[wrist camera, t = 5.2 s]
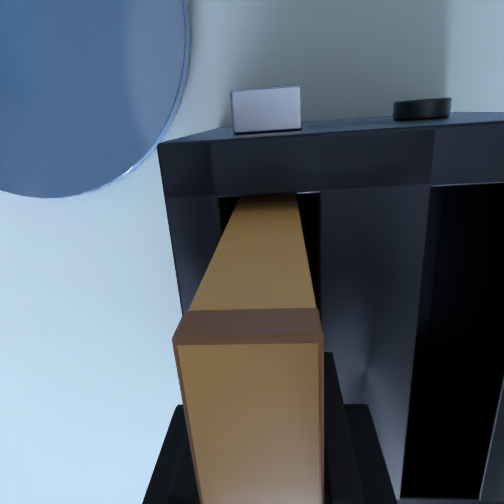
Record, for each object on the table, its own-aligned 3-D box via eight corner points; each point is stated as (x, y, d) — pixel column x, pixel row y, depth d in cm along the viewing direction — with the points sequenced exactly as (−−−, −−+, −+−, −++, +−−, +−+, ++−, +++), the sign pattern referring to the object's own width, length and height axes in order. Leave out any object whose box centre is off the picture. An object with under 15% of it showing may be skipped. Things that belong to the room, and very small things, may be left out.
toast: (260, 384, 18) (236, 724, 8) (245, 180, 14) (169, 338, 4) (299, 383, 18) (323, 731, 8) (293, 177, 14) (324, 334, 4)
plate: (-85, 187, 21) (-102, 190, 20) (-194, -197, 15) (-224, -216, 15) (194, 202, 20) (189, 206, 19) (186, -200, 15) (179, -221, 14)
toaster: (240, 359, 24) (212, 521, 14) (215, 102, 18) (147, 92, 9) (419, 357, 23) (516, 530, 13) (448, 84, 17) (643, 52, 8)
